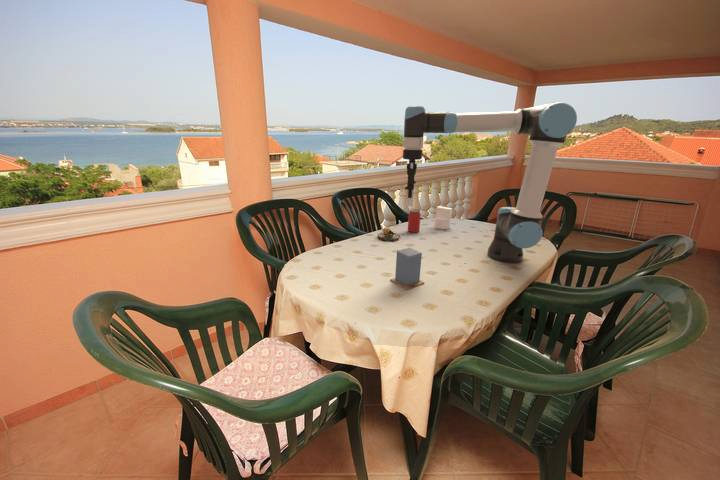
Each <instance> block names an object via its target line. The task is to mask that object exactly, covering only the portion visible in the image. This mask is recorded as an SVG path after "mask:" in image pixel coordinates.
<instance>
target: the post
mask: <svg viewBox="0 0 720 480" xmlns="http://www.w3.org/2000/svg"><path fill="white" fill-rule="evenodd" d="M389 281H391V282H392V283H394V284H395V285H397V286H399V287H401V288H403V290H407V291H408V290H410V289H412V288H416V287H419V286H421V285H424V284H425V282H424V281H422V280H420V279H419V282H418V283H415V284H412V285H409V286H405V285H404V284H402V283H400V282H398V281H396V280H395V277H394V278H391V279H390V280H389Z"/></svg>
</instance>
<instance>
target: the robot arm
mask: <svg viewBox="0 0 720 480" xmlns="http://www.w3.org/2000/svg"><path fill="white" fill-rule="evenodd" d="M577 116H578V114H577V112H576V110H575V109H574V107H573V106H572V105H571V104H569V103H567V102H561V101H556V102H555V101H553V102H550V103H547V104H541V105H538V106H532V107H527V108H517V110H515V111H498V112H497V111H496V112H491V111H490V112H488V111H487V112H461V113H460V112H459V113H458V112H455V111H453V112H452V111H435V112H434V111H426V107H425V106H422V105H409V106H406V108H405V112H404V120H403V121H404V125H403V126H404V127H403V128H404V129H403V132H404V133H403V139H402V140H401V143H403V146H402V147H403V148H404V149H403V151H402V158H403V160H408V163H406V175H407V185H406V186H405V187H404V188H405V190H406V195H405V196H406V197H405V199H406V200H405V206H406V207H413V206H414V194H415V193H414V191H415V184H416V180H415V175H416V174H417V169H418V168H417V167H418V165H417V163H416V160H417V161H420V160H423V148H424V134H447V135H448V134H453V133H454V134H455V133H504V132H505V133H506V132H507V133H509V132H512V133H513V134H514V135H528V136H529V139H528V141H529V143H530V144H531V149H530V151H529V155H528V160H527V164H526V166H525V167H526V168H525V171H524V174H523V175H524V176H523V179H522V183H521V187H520V191H519V194H518V198H517V202H516V206H515V207H512V206H502V207H500V208H498V213H497V217H496V222H495V223H496V225H495V229H494V235H493V239H492V241H491V243H490V244H489V247H488V249H487V253H486V254H487V257H489V258H491V259H493V260H496V261H500V262H505V263H520V262H521V261H523V259H524V250H523V249H529V248H533V247H534V246H536V245H537V244H538V243H540V241H541V240H542V238H543V232H544V231H543V229H542V227H541V223H542V219H543V217H544V216H543V215H542V213H541V207H542V206H543V205H542V203H543V201H544V197H545V194H546V190H547V187H548V183H549V180H550V176H551V174H552V169H553V166H554V163H555V159H556V156H557V152H558V149H559V148H561V147H562V146H564V145H565V142H566V138H567V136H568V135H569V134H570V133H571V132H572V131H573V130H574V129H575V127H576V125H577V122H578V121H577V120H578V117H577Z"/></svg>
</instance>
